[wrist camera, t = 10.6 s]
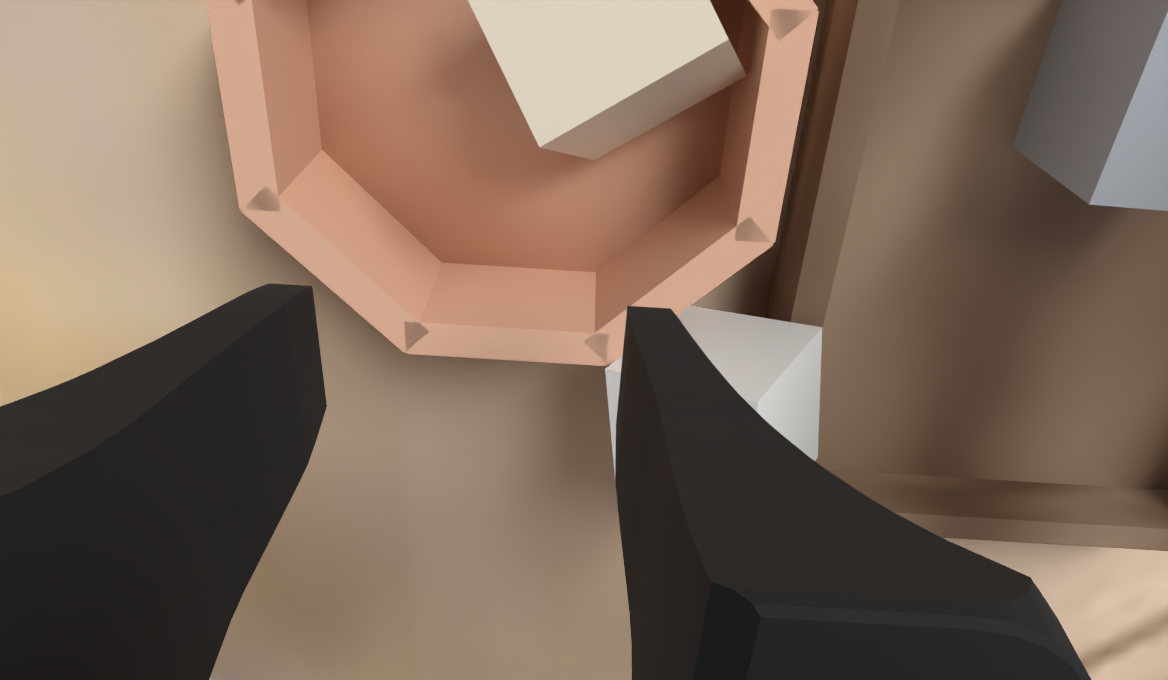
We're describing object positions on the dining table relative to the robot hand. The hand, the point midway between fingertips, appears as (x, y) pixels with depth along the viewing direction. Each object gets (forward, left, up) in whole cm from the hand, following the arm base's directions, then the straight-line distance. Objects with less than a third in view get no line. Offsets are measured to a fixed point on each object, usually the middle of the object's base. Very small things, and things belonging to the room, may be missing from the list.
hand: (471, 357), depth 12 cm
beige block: (-3, -2, -5) cm, 6 cm away
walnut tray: (-13, +1, -9) cm, 15 cm away
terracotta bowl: (0, -2, -9) cm, 9 cm away
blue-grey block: (-13, -3, -8) cm, 15 cm away
